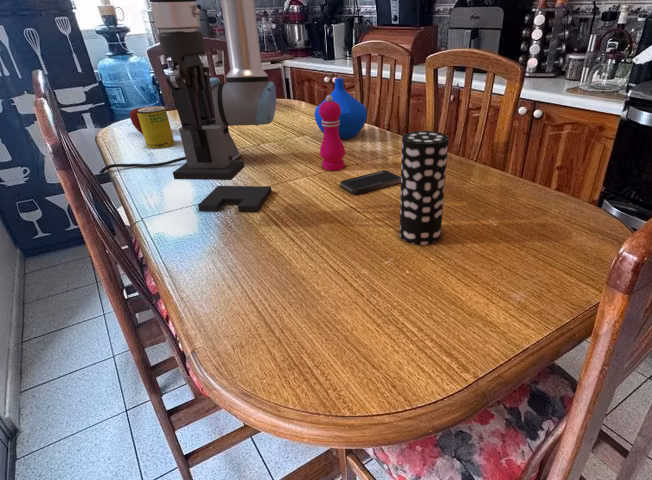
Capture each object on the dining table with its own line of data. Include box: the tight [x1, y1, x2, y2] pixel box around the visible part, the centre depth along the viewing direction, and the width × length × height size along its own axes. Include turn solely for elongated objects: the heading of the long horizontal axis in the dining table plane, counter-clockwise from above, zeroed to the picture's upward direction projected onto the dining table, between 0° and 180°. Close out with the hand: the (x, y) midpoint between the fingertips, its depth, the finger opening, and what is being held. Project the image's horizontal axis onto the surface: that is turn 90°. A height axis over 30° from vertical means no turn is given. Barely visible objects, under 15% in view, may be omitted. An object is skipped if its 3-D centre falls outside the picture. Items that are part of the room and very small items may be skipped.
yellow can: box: [136, 105, 175, 150], centre depth 142 cm, size 9×9×12 cm
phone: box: [339, 169, 401, 195], centre depth 109 cm, size 8×1×15 cm
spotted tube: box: [399, 130, 450, 246], centre depth 80 cm, size 8×8×20 cm
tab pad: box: [172, 126, 245, 181], centre depth 86 cm, size 12×12×10 cm
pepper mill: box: [319, 94, 346, 172], centre depth 116 cm, size 7×7×20 cm
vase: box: [314, 77, 368, 140], centre depth 145 cm, size 18×18×19 cm
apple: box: [129, 106, 146, 135], centre depth 155 cm, size 10×10×10 cm
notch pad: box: [197, 185, 273, 213], centre depth 101 cm, size 14×12×2 cm
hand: (207, 159), depth 86 cm, fingers closed on tab pad, 2 cm apart
